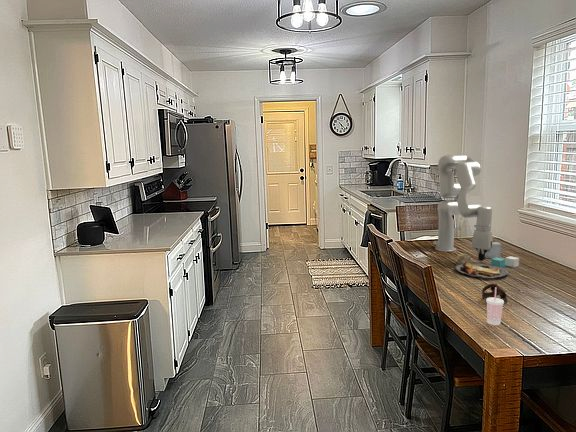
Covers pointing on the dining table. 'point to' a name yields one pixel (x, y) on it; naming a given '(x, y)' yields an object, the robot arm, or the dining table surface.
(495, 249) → the medicine box
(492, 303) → the beverage cup
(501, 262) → the teal block
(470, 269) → the food plate
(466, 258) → the maple block
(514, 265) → the white block
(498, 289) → the pottery mug
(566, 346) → the dining table surface
